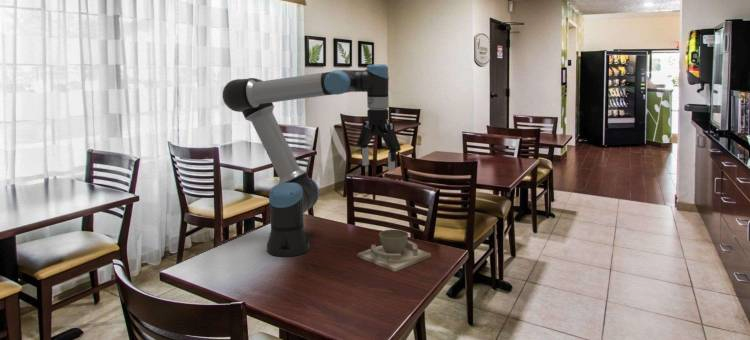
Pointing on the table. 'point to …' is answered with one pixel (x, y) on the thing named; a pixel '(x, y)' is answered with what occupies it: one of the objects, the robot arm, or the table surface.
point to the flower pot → (393, 241)
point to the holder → (394, 256)
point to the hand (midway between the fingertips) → (378, 167)
